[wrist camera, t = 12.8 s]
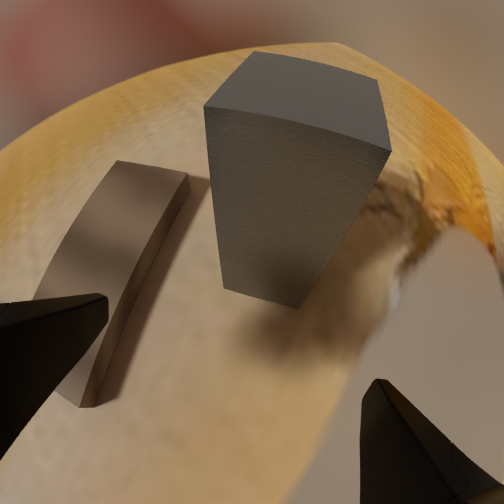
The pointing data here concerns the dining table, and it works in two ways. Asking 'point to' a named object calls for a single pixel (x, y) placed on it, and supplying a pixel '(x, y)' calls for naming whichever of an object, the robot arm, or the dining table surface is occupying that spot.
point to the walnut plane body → (112, 258)
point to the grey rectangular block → (290, 169)
